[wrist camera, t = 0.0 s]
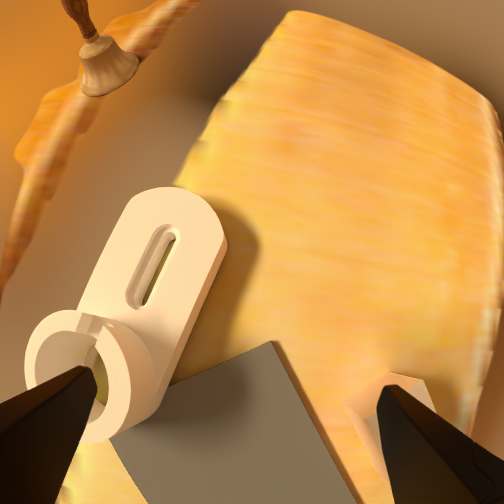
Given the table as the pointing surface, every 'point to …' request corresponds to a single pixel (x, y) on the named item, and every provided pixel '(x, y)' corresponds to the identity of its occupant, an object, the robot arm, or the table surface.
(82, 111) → the table surface
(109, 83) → the hand bell
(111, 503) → the table surface
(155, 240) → the bracket
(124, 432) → the grey rubber mat
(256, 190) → the table surface
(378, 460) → the card deck box
